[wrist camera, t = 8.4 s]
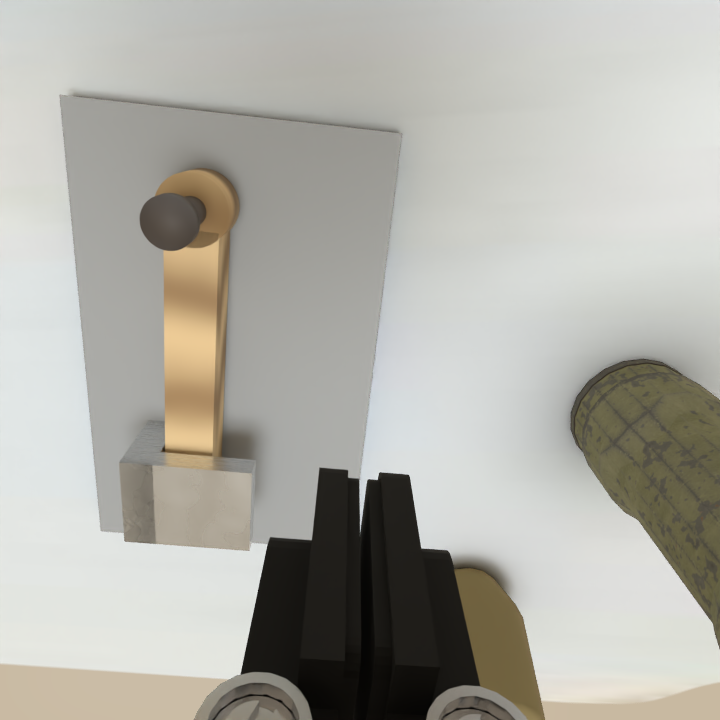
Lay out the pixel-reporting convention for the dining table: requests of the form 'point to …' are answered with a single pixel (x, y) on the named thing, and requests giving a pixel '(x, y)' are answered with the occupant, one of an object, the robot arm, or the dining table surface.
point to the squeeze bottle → (499, 641)
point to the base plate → (236, 288)
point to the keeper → (185, 495)
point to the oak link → (193, 302)
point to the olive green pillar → (659, 464)
